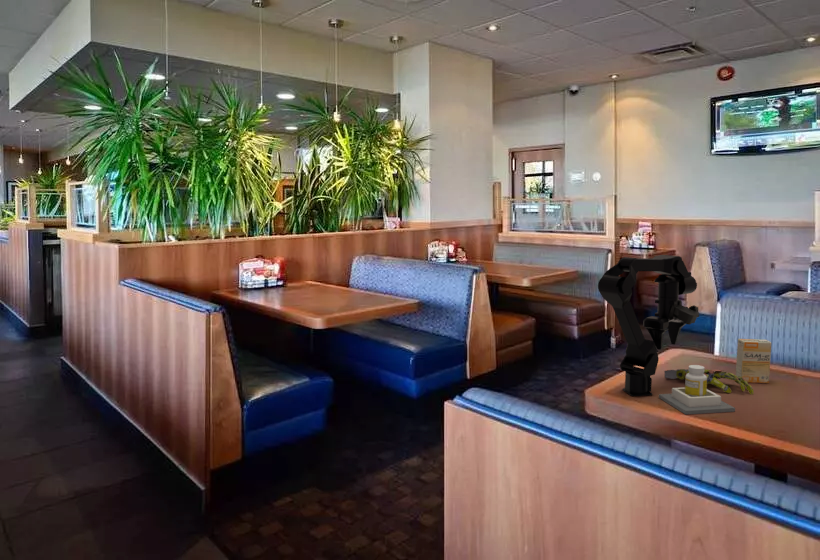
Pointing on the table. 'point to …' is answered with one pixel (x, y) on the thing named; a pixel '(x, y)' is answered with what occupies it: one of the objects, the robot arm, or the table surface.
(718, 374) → the robotic hand
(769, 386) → the table surface
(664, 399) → the socket holder
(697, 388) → the supplement bottle
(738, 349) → the supplement box
